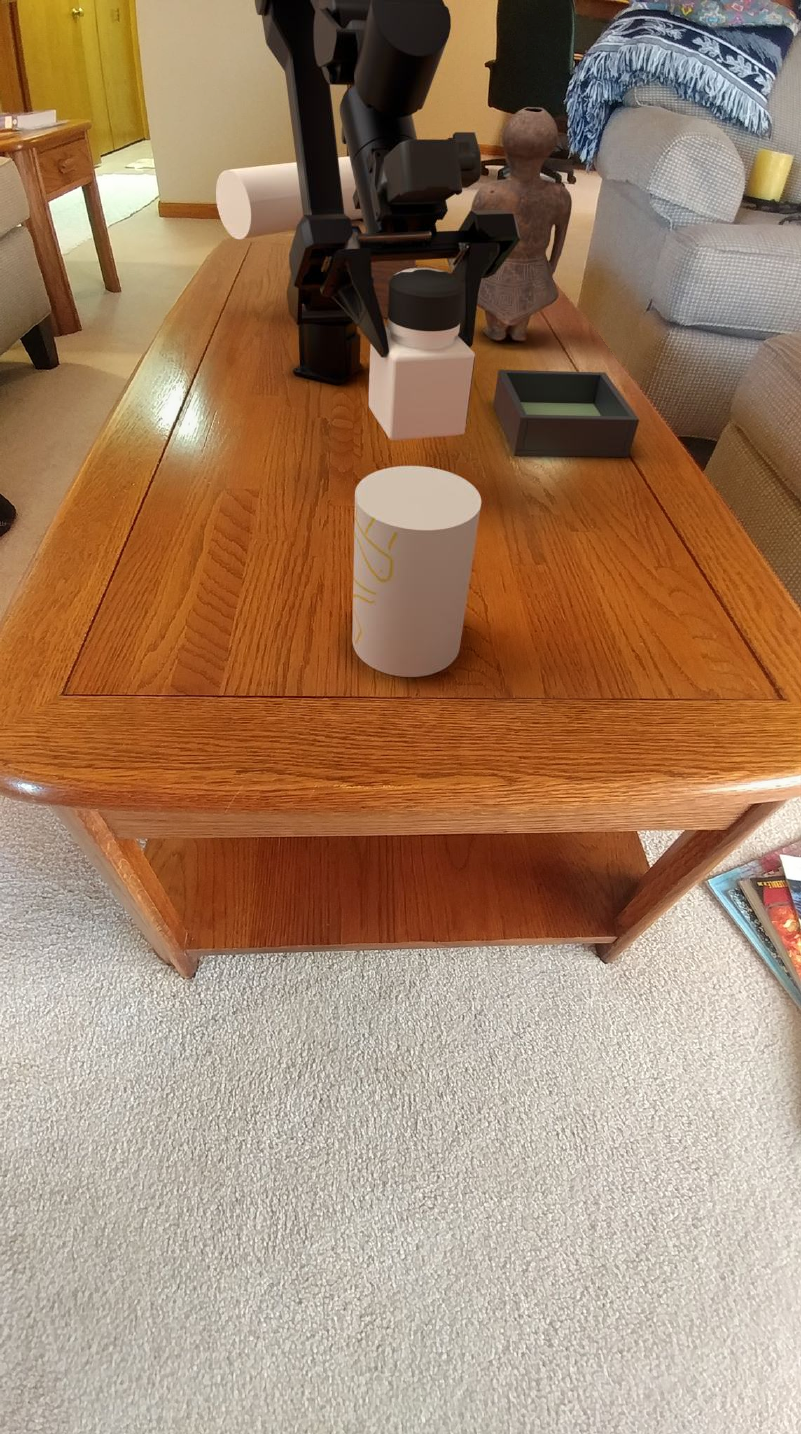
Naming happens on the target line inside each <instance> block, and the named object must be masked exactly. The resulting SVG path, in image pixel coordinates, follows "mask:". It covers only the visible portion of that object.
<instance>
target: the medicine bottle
mask: <svg viewBox="0 0 801 1434" xmlns="http://www.w3.org/2000/svg"><path fill="white" fill-rule="evenodd" d="M463 293H464V286H463V284H462V282H461V281H460V280H459V279H458V278H456V277H455V276H453V275H452V274H451V272H449V271H446V270H442V269H438V268H433V267H415V268H410V269H406V270H403V271H401V272H398V273H396V274H395V275H394V276H393V277H392V278H391V279H390V281H389V298H388V318H386V319H387V320H386V321H387V322H386V325H384V326H385V329H386V334H387V340H388V346H389V353H388V355H387V356H386V357H384V358H382V357H381V356H380V355H379V354H378V352H377V351H376V350H375V348H374V347H373V346H372V344H371V343H370V350H369V375H368V376H369V378H368V408H369V410H370V411H371V413H372V414H373V416H374V417H375V420H377V422H378V423H379V425H380V426H381V429H382V430H383V431H384V433H385V434H386V436H387V438H388V440H390V441H391V442H395V441H396V442H397V441H407V440H420V439H431V438H444V437H454V436H456V437H457V436H463V435H465V433H466V430H467V420H468V415H469V407H470V400H471V390H472V385H473V376H474V368H475V360H476V353H475V352H474V351H473V350H472V349H471V347H470V348H469V347H468V346H467V345H466V344H465V343H464V342H463V341H462V339H461V338H460V337H459V336H458V333H459V329H460V320H461V311H462V302H463Z"/></svg>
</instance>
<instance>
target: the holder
mask: <svg viewBox="0 0 801 1434" xmlns="http://www.w3.org/2000/svg"><path fill="white" fill-rule="evenodd" d="M492 407H493V409H494V411H495V414H496V416H497V418H498V420H499V423H500V425H501V427H502V430H503V432H504V434H505V437H506V440H507V441H508V445H509V446H510V449H511V451H512V453H513V456H516V457H518V456H520V457H525V456H526V457H587V458H588V457H593V458H594V457H595V458H597V457H603V458H629V457H630V454H631V450H632V446H633V444H634V440H635V436H636V433H637V430H638V427H639V423H640V419H639V417H638V416H637V414H636V413H635V411H634V410H633V409H632V407H631V406H630V405H629V403H628V402H627V400H626V399H625V398H624V396H623V395H622V393H621V392H620V390H619V389H618V388H617V386H616V385H615V384H614V383H613V381H612V379H611V378H610V377H609V375H608V374H607V372H605V371H603V372H602V371H570V370H569V371H568V370H567V371H565V370H530V369H529V370H526V369H525V370H523V369H522V370H521V369H498V371H497V377H496V383H495V391H494V398H493V404H492Z"/></svg>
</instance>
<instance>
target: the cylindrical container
mask: <svg viewBox="0 0 801 1434" xmlns="http://www.w3.org/2000/svg"><path fill="white" fill-rule="evenodd" d="M338 161H339V169H340V178H341V187H342V196H343V205H344V212H345V215H346V216H348V217H349V218H350V220H356V219H362V218H363V216H362V212H361V209H355V206H354V202H353V195H354V192H355V189H356V185H355V180H354V176H353V171H352V167H351V162H350V158H349V155H348V156H340V157H339V156H338ZM215 201H216V207H217V212H218V215H219V218H220V221H221V223H222V225H223V226H224V228H225V230H226V232H227V233H228V234H229V235H230V236H231V237H232V238H233V239H236V240H245V239H251V238H258V237H262V236H268V235H274V234H280V233H287V232H291V231H296V228H297V225H298V223H299V222H300V220H301V218H302V217H303V211H302V203H301V195H300V187H299V179H298V171H297V163H296V161H295V162H285V163H278V164H277V163H276V164H269V165H259V166H249V167H241V168H240V167H239V168H232V169H225V170H223V171H222V172H221V173H219V175H218V178H217V180H216V185H215Z"/></svg>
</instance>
